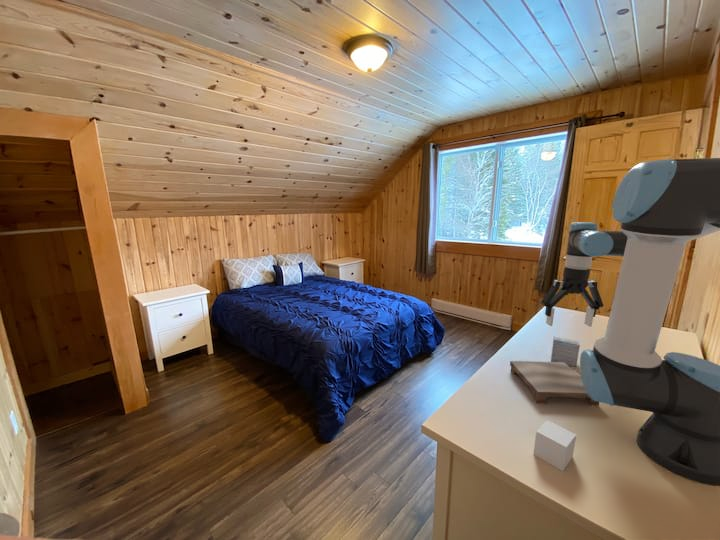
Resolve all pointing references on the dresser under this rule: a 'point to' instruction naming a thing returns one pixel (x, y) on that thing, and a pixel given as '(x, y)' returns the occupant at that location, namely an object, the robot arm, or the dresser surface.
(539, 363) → the walnut stand
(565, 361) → the medicine box
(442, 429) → the dresser surface
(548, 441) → the white cube
